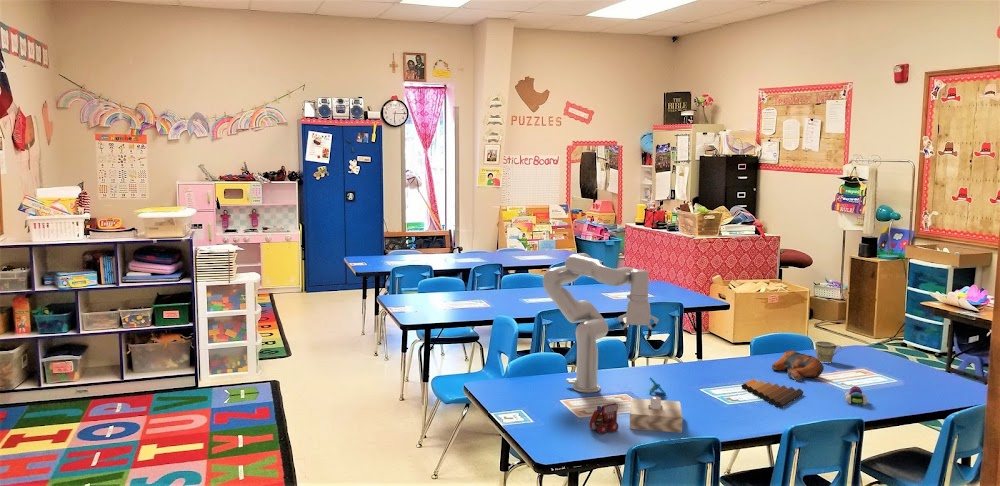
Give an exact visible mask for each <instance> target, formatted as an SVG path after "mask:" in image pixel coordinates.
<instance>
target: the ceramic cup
mask: <svg viewBox="0 0 1000 486" xmlns="http://www.w3.org/2000/svg"><path fill="white" fill-rule="evenodd" d="M814 344H815V345H814V346H815V352H816V358H817V359H818V360H819V361H821V362H828V363H829V362H833V359H834V356H835V355H836V354H837V353H839V352H840V351H842V346H841V345H838V344H836V343H834V342H831V341H830V342H829V341H826V340H825V341H824V340H823V341H821V340H819V341H815V343H814ZM839 347H840V349H838V350H837V351H835V350H836V349H837V348H839Z"/></svg>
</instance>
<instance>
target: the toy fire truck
mask: <svg viewBox="0 0 1000 486" xmlns="http://www.w3.org/2000/svg"><path fill="white" fill-rule="evenodd" d="M618 410H619V404H618V403H616V402H614V403H613V402H612V403H609V404H603V405H602V406H601V405H597V406H596V409H595V410H594V411H593V413H592V415H591V417H590V419H589V423H588V424H589V429H590V430H592V431H595V430H597V433H599V434H600V435H605V434H606V433H607V432H608V431H609V432H612V433H615V432H617V431H618V429H619V424H618V421H617V420H618V419H617V418H618Z"/></svg>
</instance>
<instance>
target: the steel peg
mask: <svg viewBox="0 0 1000 486" xmlns="http://www.w3.org/2000/svg"><path fill="white" fill-rule="evenodd" d="M650 400H651V404H650V409H651V410H660V409H661V400H662V398H661V396H655V395H654V396H651V397H650Z"/></svg>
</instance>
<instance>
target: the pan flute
mask: <svg viewBox="0 0 1000 486" xmlns="http://www.w3.org/2000/svg"><path fill="white" fill-rule="evenodd" d="M741 389H742V390H746V389H747V390H746V392H747V391H748V393H751V392H752V395H753V394H755V395H754V396H757V398H758V397H760V398H759V399H762V398H763V399H762V400H765V401H764V402H768V401H769V402H768V404H769V405H773V404H774V407H775V408H778V407H780V408H779V409H782V408H783V406H784V407H785V406H787V405H788V403H789V402H790V403H792V402H793V401H795V400H797V399H799V398H800V397H801V395H802V396H803V394H804V391H803V390H802V389H801V388H798V389H795V388H794V387H793V386H791V387H789V388H788V387H787V386H786V385H784V384H783V385H781V386H780V385H779V384H777V383H775V384H772V383H770V381H768V382H766V383H765V382H764V381H763V380H759V381H757V380H756V379H755V378H753V379H751V380H749V381H747V382H746V383H743V384H741ZM799 396H800V397H799ZM796 398H797V399H796ZM794 399H795V400H794ZM791 401H792V402H791ZM790 403H789V404H790ZM786 404H787V405H786Z"/></svg>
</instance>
